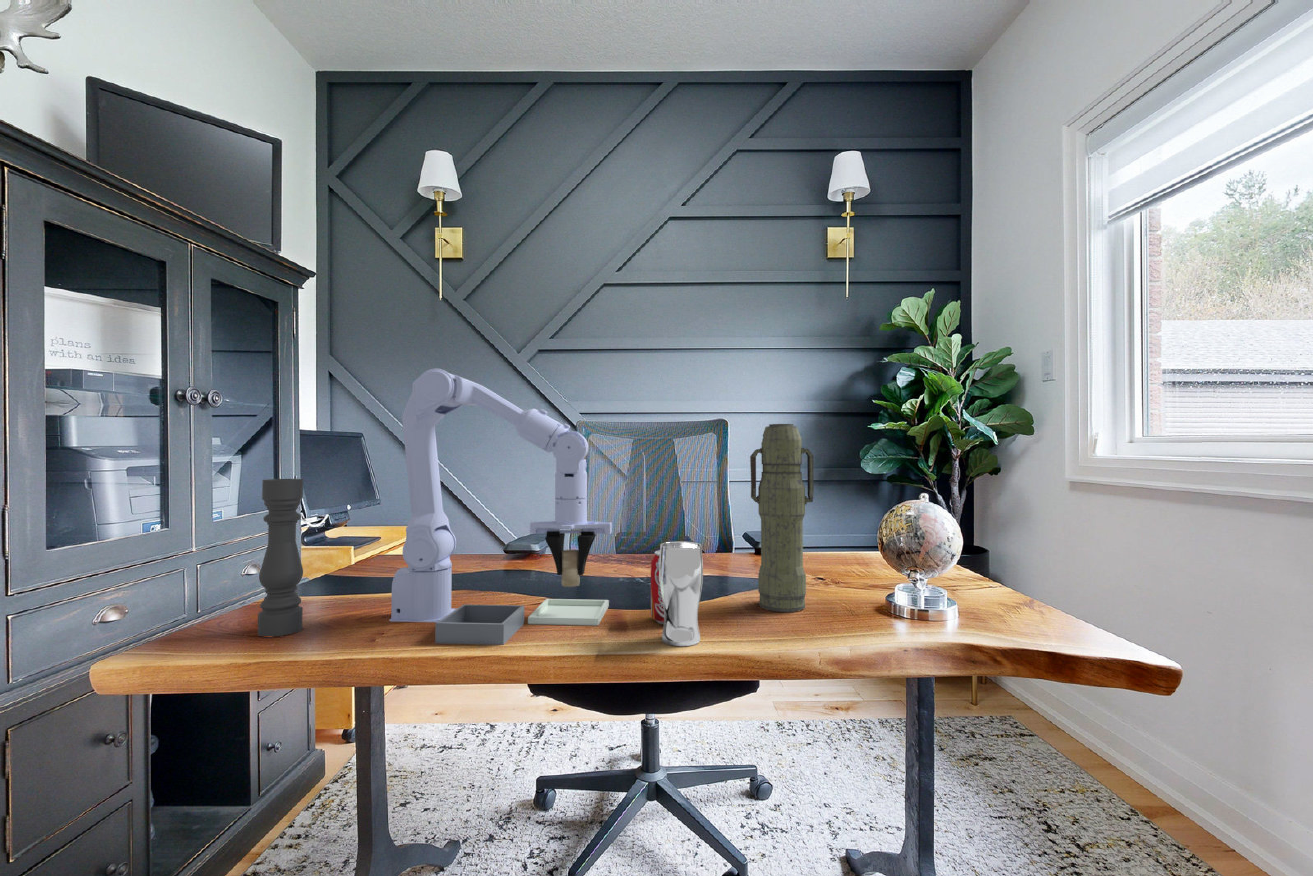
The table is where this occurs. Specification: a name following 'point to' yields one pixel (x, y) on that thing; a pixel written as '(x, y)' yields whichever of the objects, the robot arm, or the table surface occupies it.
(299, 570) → the candle holder
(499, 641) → the charcoal bin
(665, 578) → the beer glass
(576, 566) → the birch pin
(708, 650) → the table surface
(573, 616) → the sage tray
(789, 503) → the thermos
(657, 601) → the soda can
